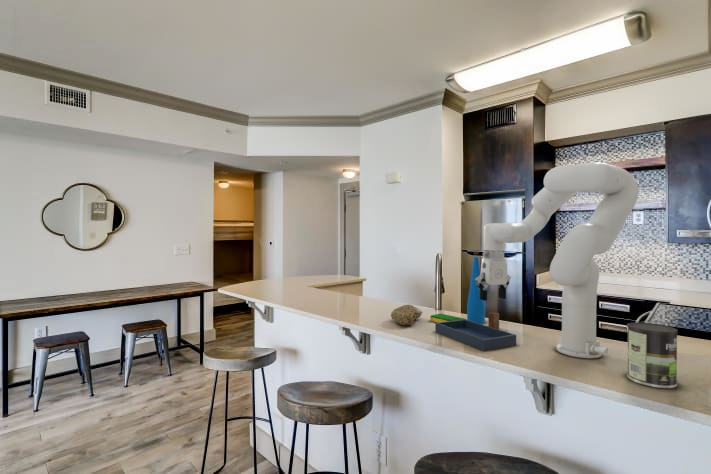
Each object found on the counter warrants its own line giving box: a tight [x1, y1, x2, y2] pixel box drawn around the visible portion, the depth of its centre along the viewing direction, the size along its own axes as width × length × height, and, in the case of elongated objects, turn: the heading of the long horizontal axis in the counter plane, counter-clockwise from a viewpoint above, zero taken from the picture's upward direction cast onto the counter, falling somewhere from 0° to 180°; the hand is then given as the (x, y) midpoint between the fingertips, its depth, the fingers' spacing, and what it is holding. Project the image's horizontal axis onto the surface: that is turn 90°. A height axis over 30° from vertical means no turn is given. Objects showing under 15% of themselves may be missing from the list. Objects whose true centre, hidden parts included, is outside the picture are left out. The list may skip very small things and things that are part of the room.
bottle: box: [466, 251, 486, 325], centre depth 162 cm, size 7×7×30 cm
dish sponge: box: [429, 313, 467, 323], centre depth 161 cm, size 7×14×2 cm, turn 38°
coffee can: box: [626, 321, 679, 389], centre depth 98 cm, size 10×10×14 cm
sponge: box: [390, 304, 423, 326], centre depth 161 cm, size 13×8×20 cm
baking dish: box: [435, 318, 517, 352], centre depth 137 cm, size 26×15×4 cm, turn 25°
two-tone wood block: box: [487, 311, 509, 333], centre depth 145 cm, size 9×5×8 cm, turn 25°
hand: (492, 299), depth 145 cm, fingers open, 9 cm apart
